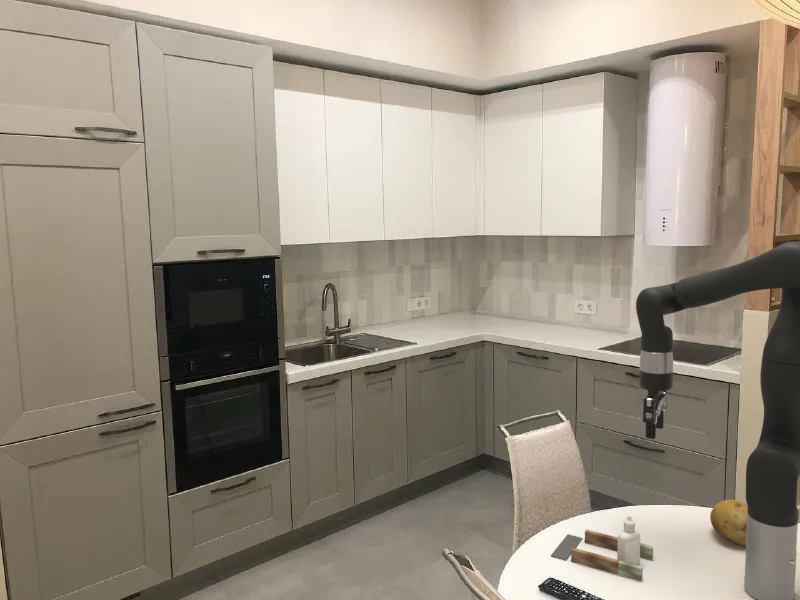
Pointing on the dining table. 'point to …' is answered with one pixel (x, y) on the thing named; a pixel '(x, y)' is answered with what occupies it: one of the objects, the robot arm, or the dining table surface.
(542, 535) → the dining table surface
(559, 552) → the plate
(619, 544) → the eye dropper bottle
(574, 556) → the walnut channel
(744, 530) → the potato
